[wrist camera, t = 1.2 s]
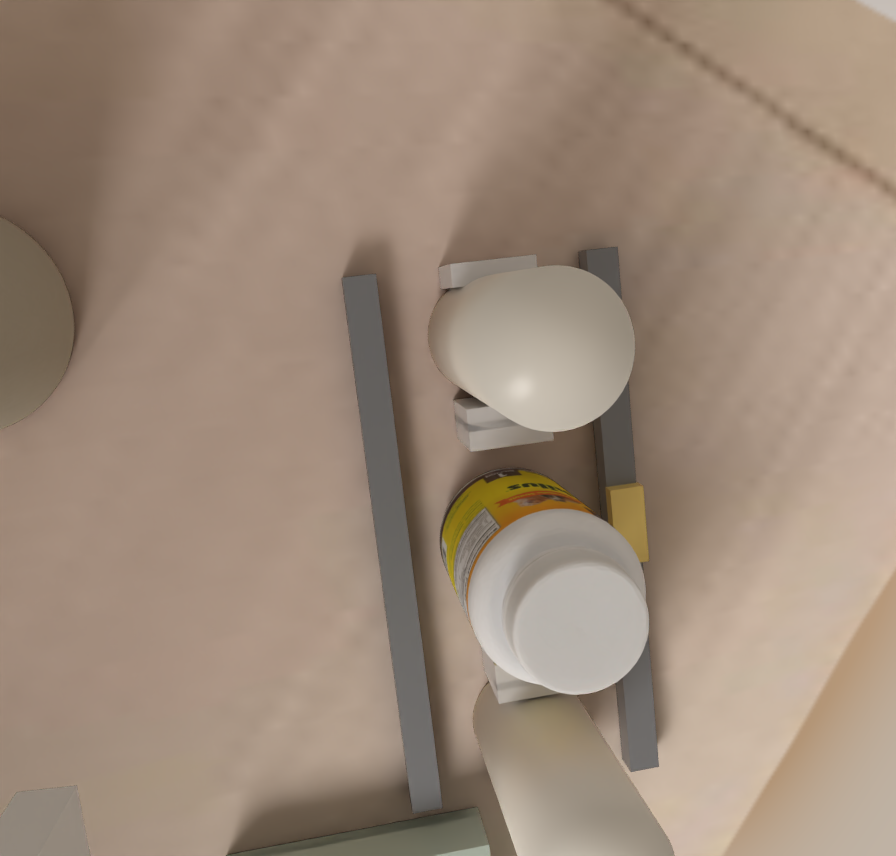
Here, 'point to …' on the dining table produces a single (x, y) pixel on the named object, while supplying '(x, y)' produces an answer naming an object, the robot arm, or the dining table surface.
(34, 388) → the travel mug
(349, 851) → the tray
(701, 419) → the dining table surface
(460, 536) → the supplement bottle
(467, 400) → the twin cylinder holder
